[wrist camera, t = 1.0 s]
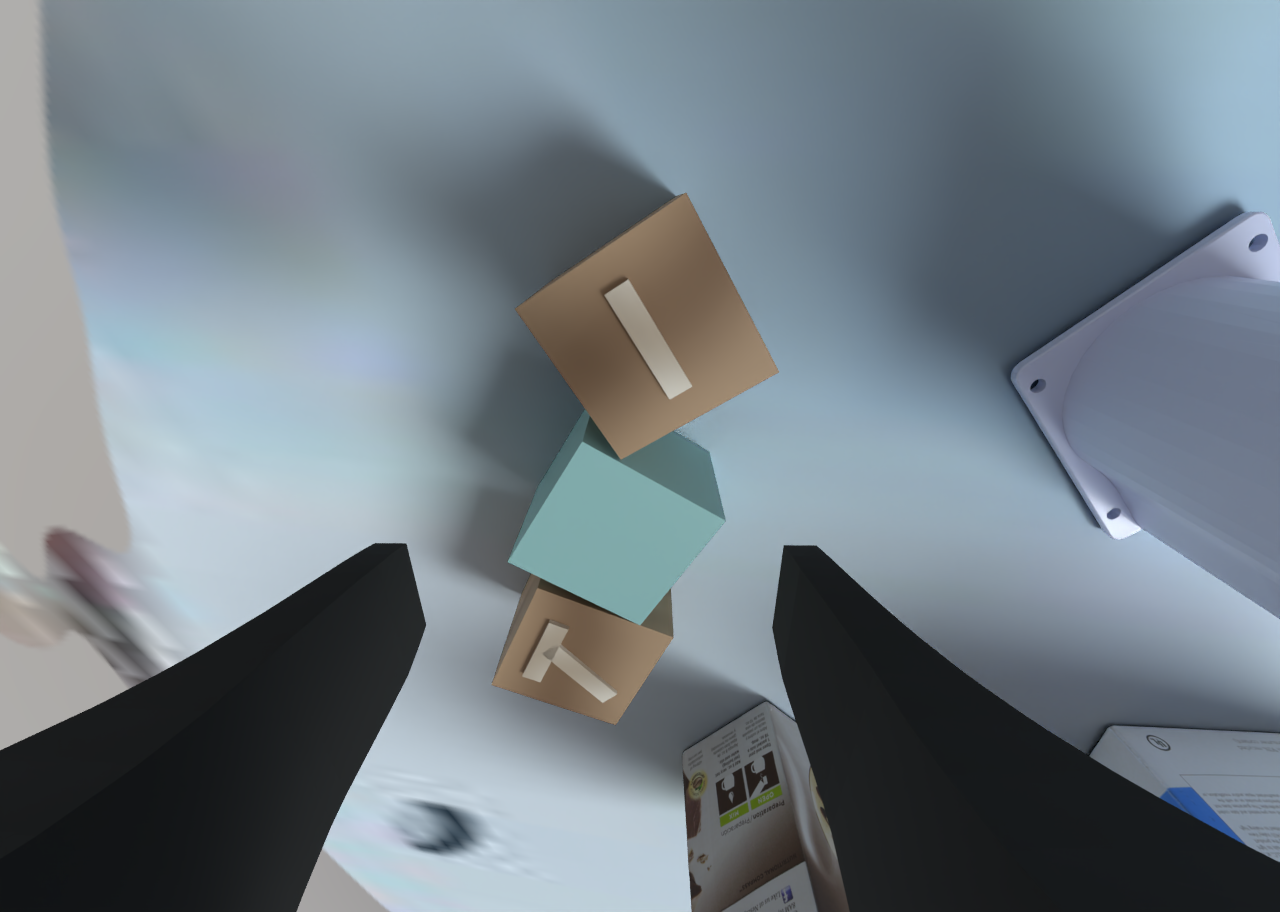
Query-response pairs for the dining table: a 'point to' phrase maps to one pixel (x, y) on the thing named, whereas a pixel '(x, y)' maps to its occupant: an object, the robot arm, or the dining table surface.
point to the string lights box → (1205, 776)
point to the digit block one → (649, 329)
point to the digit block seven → (580, 651)
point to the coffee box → (758, 821)
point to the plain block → (620, 519)
